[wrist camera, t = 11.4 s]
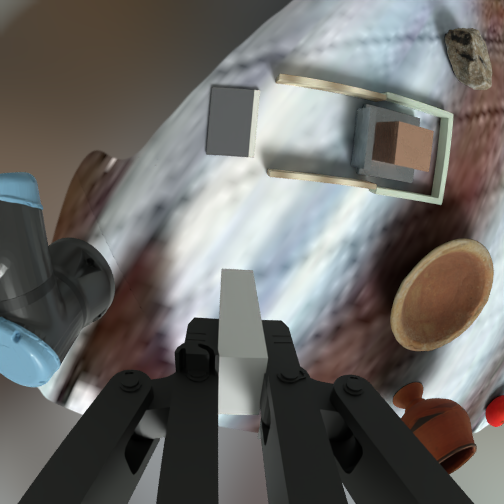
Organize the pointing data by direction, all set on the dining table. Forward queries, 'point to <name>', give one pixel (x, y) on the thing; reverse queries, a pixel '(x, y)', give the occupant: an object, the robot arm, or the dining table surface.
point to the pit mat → (233, 122)
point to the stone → (469, 58)
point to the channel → (336, 89)
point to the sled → (390, 144)
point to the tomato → (496, 412)
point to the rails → (441, 153)
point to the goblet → (437, 426)
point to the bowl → (442, 295)
